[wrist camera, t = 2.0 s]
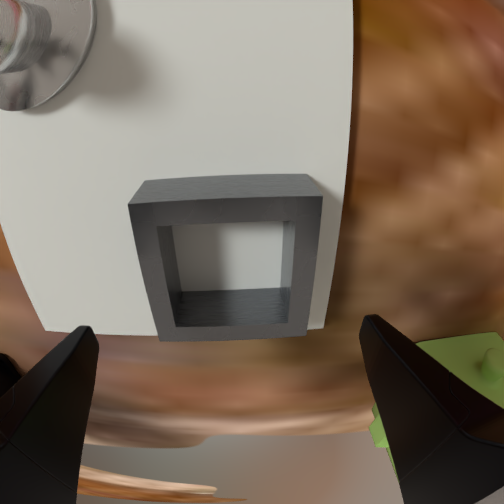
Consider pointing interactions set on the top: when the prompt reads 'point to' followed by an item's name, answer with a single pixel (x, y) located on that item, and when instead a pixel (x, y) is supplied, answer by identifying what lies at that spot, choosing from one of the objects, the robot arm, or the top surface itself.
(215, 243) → the mat
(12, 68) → the silver domed knob
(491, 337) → the green pegged block
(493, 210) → the top surface
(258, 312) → the square frame
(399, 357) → the robot arm
